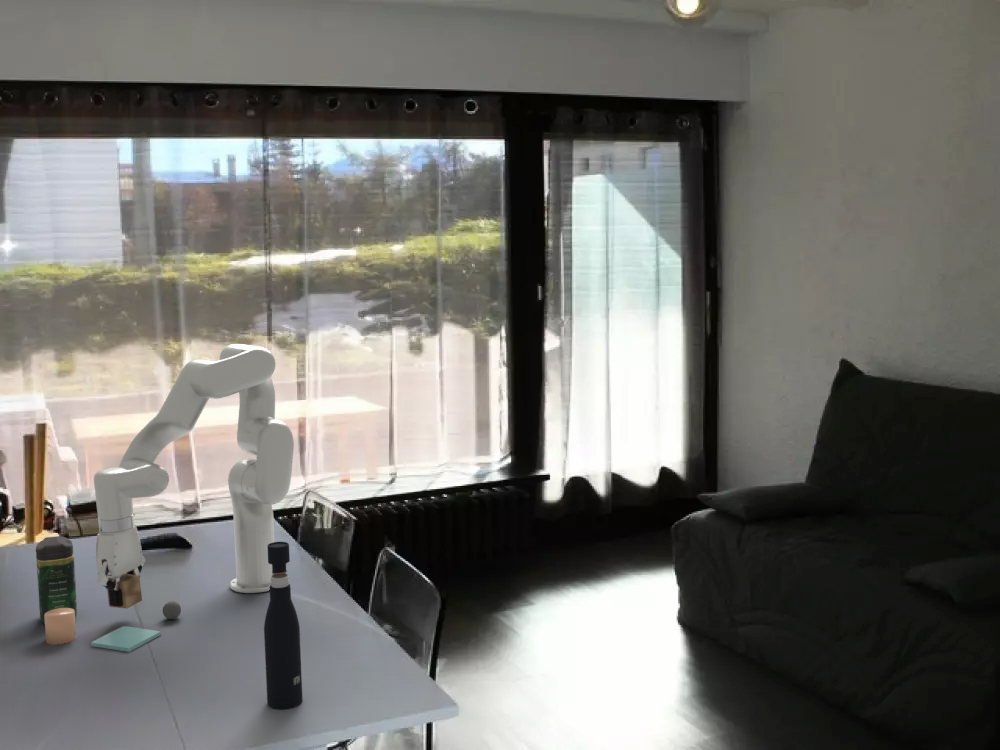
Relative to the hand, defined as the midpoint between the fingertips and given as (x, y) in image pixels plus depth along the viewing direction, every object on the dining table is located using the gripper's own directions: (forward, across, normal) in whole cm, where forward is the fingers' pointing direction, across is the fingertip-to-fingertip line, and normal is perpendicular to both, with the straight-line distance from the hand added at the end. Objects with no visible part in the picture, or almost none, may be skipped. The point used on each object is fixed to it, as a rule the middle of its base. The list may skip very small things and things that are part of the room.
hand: (125, 600), depth 238 cm
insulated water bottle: (+5, +25, +57) cm, 63 cm away
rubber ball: (+3, -4, +9) cm, 11 cm away
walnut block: (+1, 0, 0) cm, 1 cm away
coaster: (+4, +10, +8) cm, 14 cm away
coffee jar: (+4, +4, -16) cm, 17 cm away
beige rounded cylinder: (+4, +14, -6) cm, 16 cm away
